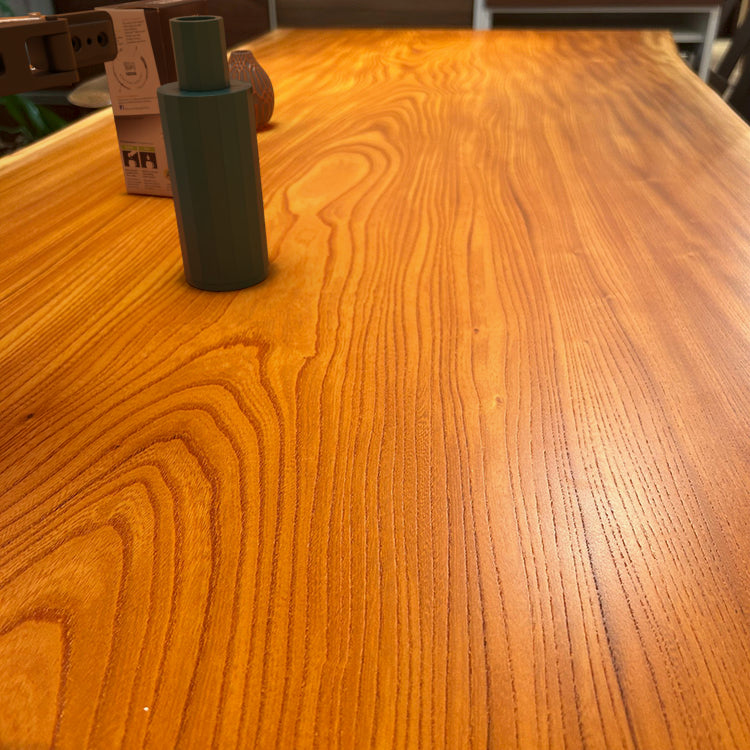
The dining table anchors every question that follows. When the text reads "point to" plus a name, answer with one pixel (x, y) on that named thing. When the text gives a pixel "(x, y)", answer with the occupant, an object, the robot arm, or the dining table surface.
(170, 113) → the bottle
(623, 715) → the dining table surface
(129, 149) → the coffee box
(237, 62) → the vase
